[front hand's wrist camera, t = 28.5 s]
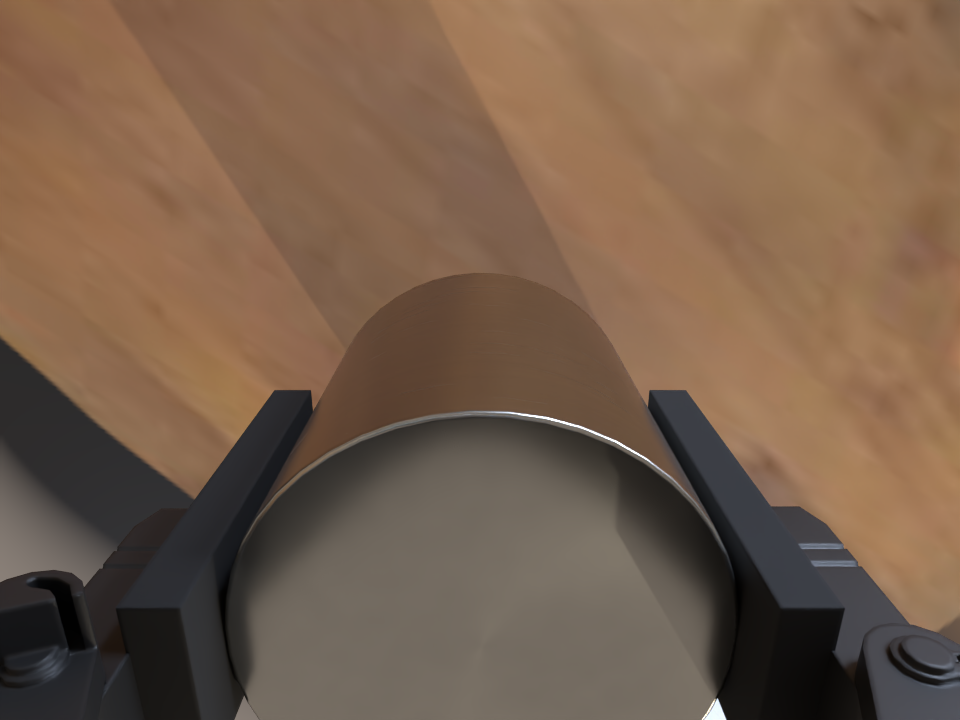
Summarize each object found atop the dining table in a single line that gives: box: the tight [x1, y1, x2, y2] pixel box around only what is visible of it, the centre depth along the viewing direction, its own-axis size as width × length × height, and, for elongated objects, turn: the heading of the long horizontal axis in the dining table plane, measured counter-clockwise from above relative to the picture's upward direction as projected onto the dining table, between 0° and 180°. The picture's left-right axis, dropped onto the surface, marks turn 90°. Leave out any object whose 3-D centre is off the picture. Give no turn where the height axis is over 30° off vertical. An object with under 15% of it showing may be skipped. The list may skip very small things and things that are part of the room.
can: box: [225, 273, 739, 720], centre depth 13 cm, size 7×7×7 cm
